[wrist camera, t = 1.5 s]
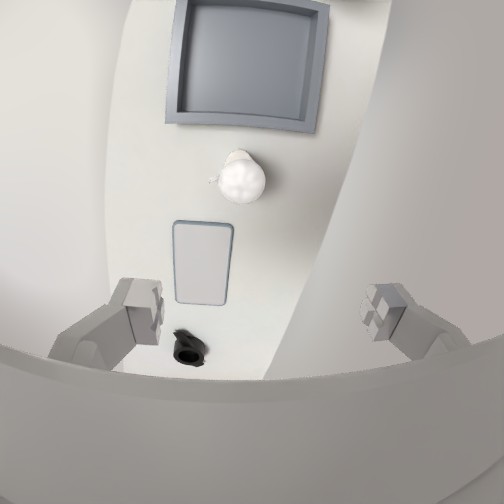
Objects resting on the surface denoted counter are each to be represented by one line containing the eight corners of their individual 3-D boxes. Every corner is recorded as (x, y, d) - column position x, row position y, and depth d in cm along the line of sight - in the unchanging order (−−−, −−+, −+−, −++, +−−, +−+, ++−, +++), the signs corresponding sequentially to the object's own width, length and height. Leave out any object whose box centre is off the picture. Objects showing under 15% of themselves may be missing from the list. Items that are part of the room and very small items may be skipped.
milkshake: (219, 138, 31) (215, 157, 23) (261, 149, 32) (274, 172, 24) (210, 173, 33) (204, 203, 25) (251, 182, 35) (259, 216, 26)
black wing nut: (215, 333, 49) (215, 345, 47) (203, 362, 54) (202, 373, 52) (174, 324, 48) (172, 336, 45) (166, 354, 52) (165, 366, 50)
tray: (183, 0, 21) (178, -11, 17) (318, 13, 23) (329, 5, 19) (172, 119, 29) (165, 123, 26) (304, 128, 31) (314, 133, 28)
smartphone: (175, 303, 44) (171, 221, 36) (175, 299, 45) (173, 218, 37) (225, 306, 45) (234, 225, 37) (225, 302, 46) (233, 222, 38)
